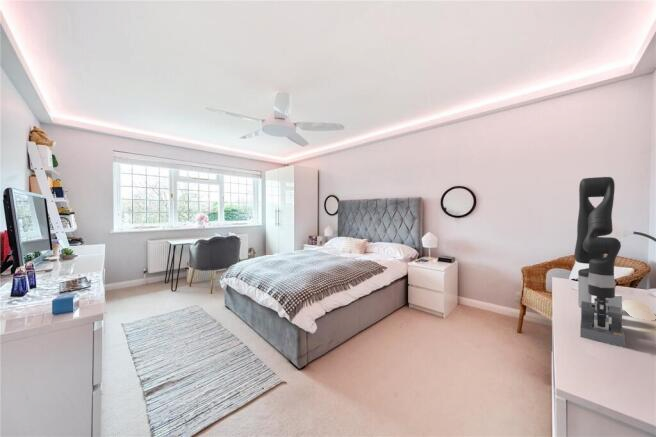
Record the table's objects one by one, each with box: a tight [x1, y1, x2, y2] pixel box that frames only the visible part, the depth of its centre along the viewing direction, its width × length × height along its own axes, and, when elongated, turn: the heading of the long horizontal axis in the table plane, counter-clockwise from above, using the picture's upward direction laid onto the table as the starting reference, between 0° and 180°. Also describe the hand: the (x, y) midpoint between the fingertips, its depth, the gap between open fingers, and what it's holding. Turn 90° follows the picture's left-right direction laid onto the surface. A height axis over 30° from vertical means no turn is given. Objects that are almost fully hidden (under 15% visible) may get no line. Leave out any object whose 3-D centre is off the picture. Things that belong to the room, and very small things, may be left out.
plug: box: [594, 313, 612, 330], centre depth 103 cm, size 3×5×8 cm, turn 43°
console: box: [579, 301, 626, 348], centre depth 107 cm, size 24×12×9 cm, turn 133°
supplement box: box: [591, 293, 623, 314], centre depth 119 cm, size 7×7×13 cm
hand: (601, 324), depth 103 cm, fingers open, 4 cm apart
